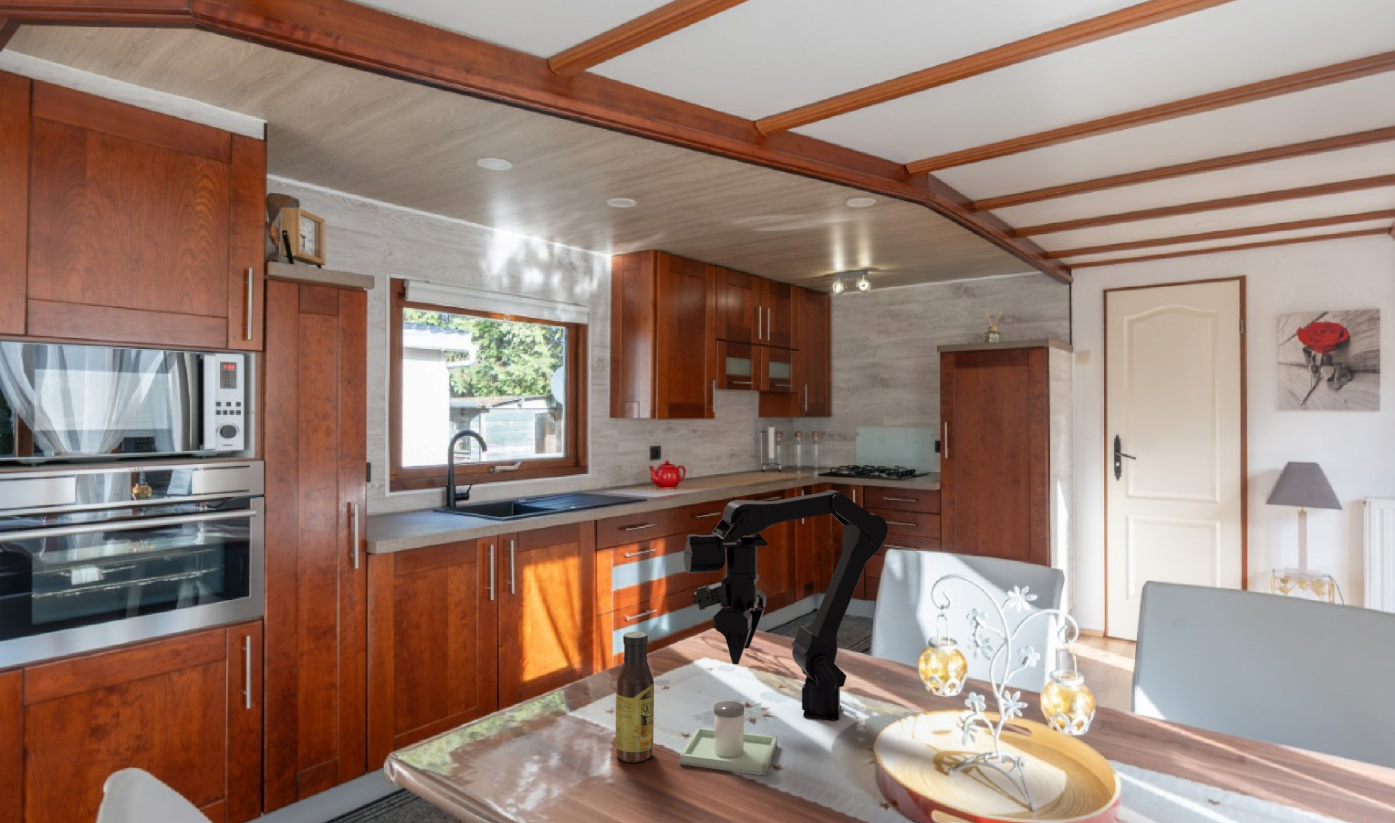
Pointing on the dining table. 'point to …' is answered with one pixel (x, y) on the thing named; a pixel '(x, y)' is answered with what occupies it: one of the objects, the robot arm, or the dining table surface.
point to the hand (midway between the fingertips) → (740, 655)
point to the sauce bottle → (634, 701)
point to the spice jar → (729, 729)
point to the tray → (750, 761)
